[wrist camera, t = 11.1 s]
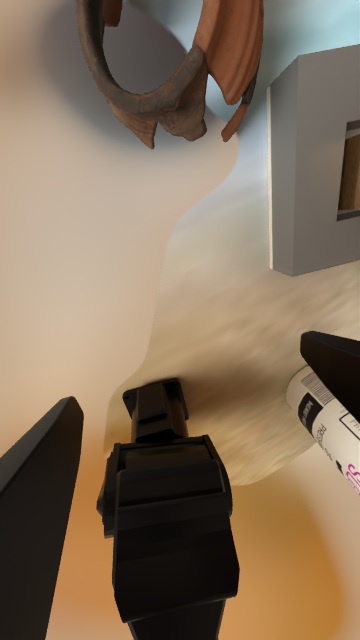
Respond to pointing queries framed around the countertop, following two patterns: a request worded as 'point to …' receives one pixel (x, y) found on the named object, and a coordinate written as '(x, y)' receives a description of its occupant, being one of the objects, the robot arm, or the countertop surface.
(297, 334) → the countertop surface
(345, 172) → the wooden toy block
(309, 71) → the charcoal well block
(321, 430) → the supplement can
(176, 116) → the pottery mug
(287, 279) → the countertop surface
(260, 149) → the countertop surface
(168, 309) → the countertop surface
